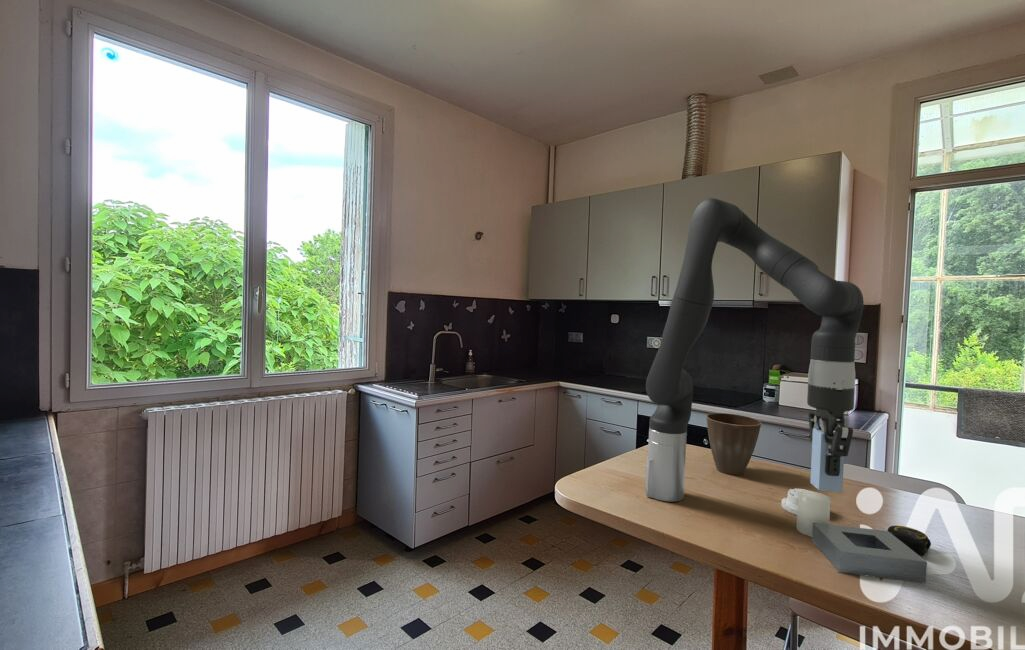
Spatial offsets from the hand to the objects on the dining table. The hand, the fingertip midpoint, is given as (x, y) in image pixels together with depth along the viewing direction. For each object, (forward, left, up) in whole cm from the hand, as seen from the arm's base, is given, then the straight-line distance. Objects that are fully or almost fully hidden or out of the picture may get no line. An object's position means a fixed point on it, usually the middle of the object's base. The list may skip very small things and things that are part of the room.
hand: (826, 470), depth 91 cm
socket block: (+8, +2, -18) cm, 20 cm away
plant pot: (-5, +50, -18) cm, 53 cm away
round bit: (+3, +13, -18) cm, 22 cm away
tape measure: (+20, +9, -18) cm, 28 cm away
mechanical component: (+6, +25, -18) cm, 31 cm away
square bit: (0, 0, -3) cm, 3 cm away
